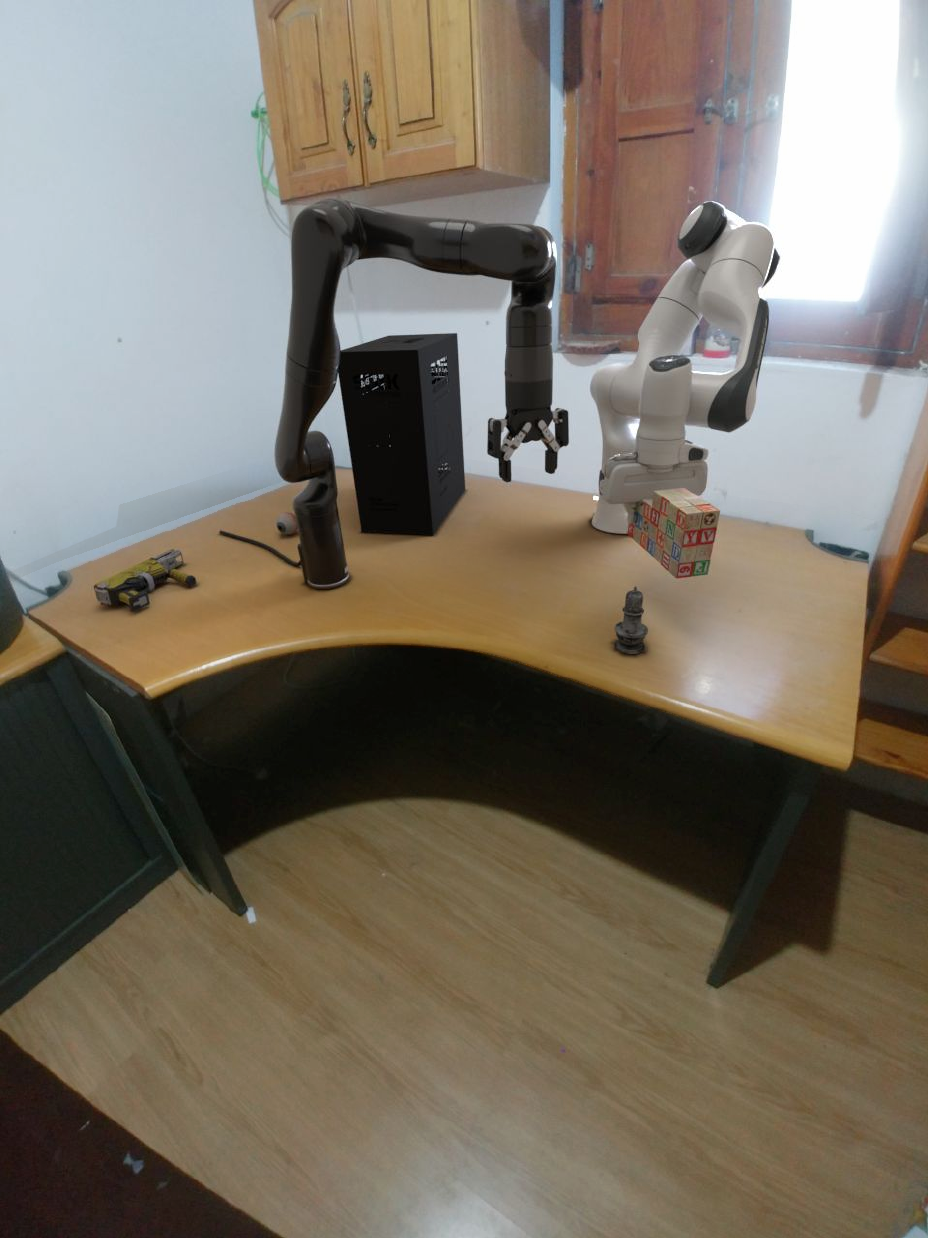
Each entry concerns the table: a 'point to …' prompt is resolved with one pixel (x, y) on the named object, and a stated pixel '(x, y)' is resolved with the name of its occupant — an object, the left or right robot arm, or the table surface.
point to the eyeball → (286, 523)
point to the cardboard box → (404, 431)
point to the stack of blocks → (676, 530)
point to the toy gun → (141, 581)
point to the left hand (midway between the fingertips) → (528, 476)
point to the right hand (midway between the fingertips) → (650, 520)
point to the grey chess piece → (631, 625)
